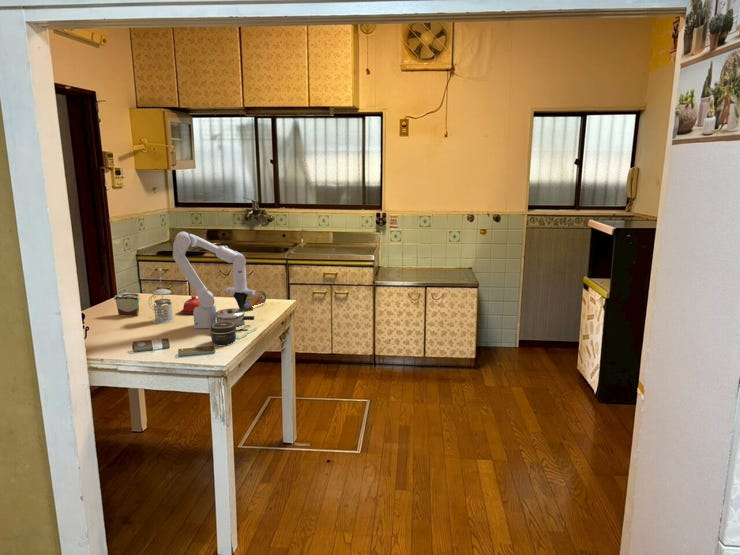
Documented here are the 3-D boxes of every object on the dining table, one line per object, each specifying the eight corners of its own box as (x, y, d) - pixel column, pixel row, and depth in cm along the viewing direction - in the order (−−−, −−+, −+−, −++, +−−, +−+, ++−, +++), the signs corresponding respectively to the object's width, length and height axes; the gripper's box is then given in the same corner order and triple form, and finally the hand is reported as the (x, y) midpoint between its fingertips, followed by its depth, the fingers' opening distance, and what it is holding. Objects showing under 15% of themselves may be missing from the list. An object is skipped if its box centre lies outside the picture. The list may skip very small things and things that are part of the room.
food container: (146, 312, 252) (144, 293, 250) (140, 316, 246) (138, 296, 244) (123, 312, 253) (121, 292, 251) (116, 315, 247) (113, 295, 245)
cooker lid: (222, 320, 219) (222, 315, 219) (211, 313, 229) (210, 309, 228) (258, 313, 229) (257, 308, 229) (245, 307, 239) (245, 302, 239)
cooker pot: (213, 332, 223) (212, 319, 222) (221, 323, 235) (220, 311, 234) (251, 332, 224) (250, 319, 222) (257, 323, 235) (256, 311, 234)
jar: (214, 338, 216) (213, 321, 214) (238, 337, 217) (237, 320, 215) (208, 346, 206) (207, 328, 204) (234, 346, 207) (232, 328, 205)
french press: (167, 324, 234) (162, 271, 228) (145, 322, 236) (139, 270, 231) (179, 318, 243) (175, 266, 238) (157, 316, 246) (152, 265, 240)
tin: (243, 311, 255) (242, 295, 253) (239, 310, 257) (238, 294, 255) (266, 304, 266) (266, 289, 265) (262, 303, 268) (262, 288, 266)
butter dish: (200, 316, 248) (199, 299, 246) (178, 315, 249) (176, 298, 247) (210, 309, 259) (209, 293, 257) (189, 308, 260) (188, 292, 258)
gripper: (258, 279, 234) (259, 307, 237) (232, 276, 239) (233, 304, 242) (249, 282, 227) (251, 311, 230) (222, 279, 232) (224, 308, 235)
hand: (241, 308), depth 236 cm, fingers closed
